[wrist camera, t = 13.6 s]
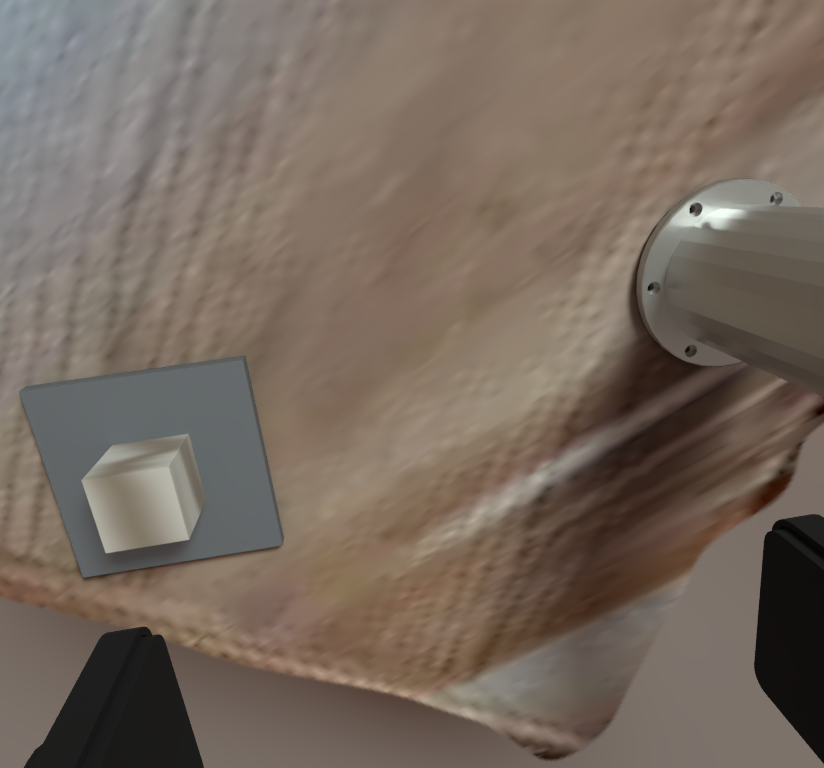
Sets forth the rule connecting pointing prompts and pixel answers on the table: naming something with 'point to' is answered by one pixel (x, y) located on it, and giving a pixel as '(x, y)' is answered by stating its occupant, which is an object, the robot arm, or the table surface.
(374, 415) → the table surface
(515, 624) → the table surface
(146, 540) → the cream cube
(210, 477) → the slate board
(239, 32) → the table surface
